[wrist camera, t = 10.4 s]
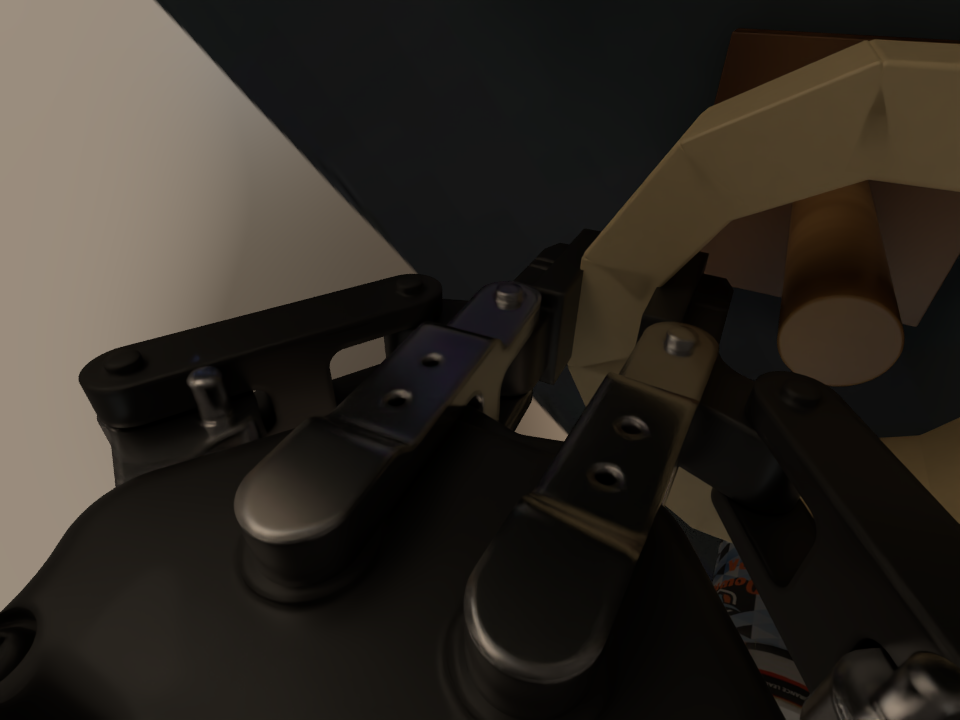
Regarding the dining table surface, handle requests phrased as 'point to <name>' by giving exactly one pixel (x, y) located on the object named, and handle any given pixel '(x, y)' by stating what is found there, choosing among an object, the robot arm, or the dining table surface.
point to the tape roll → (768, 184)
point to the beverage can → (758, 631)
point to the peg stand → (835, 240)
